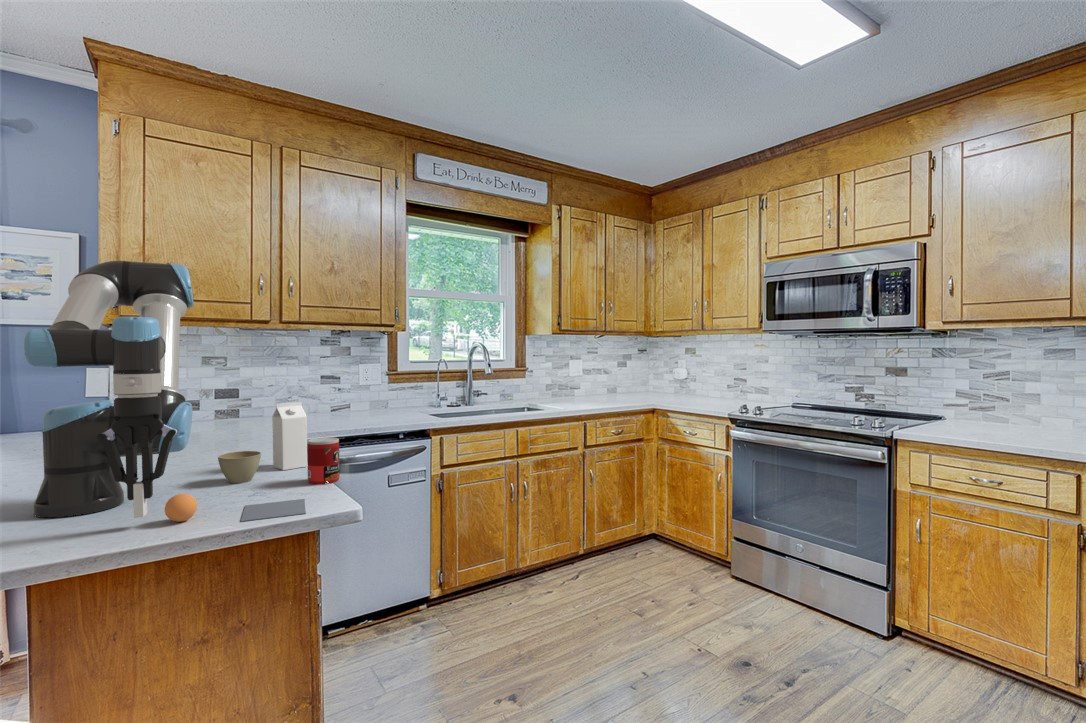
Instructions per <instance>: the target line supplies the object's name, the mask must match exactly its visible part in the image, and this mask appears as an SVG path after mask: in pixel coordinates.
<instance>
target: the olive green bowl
mask: <svg viewBox="0 0 1086 723" xmlns="http://www.w3.org/2000/svg"><path fill="white" fill-rule="evenodd" d="M261 456H262V452H261V451H256V450H240V451H232V452H226V453H221V454H219V455H218V456H217V461H218V464H219V467H220V470H221V472H222V474H223V476H224V477H225V479H226V480H227V482H228V483H230V484H243V483H248V482H250V481H252V479H253V478H254V476H255V475H256V473H257V470H258V468H259V466H260V461H261V458H262V457H261Z"/></svg>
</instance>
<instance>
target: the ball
mask: <svg viewBox="0 0 1086 723" xmlns="http://www.w3.org/2000/svg"><path fill="white" fill-rule="evenodd" d="M197 510H198V503H197V499H196V498H195V497H193V495H190V494H187V493H179V494H175V495H173V496H172V497H170V498H169V499H168V500H167V501H166V504H165V506H164V514H165V515H166V517H167V518H168V519H169V520H170V521H172V522H176V523H177V522H178V523H181V522H185V521H188V520H189V519H192V517H193V516H194V515H195V514H196V512H197Z"/></svg>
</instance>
